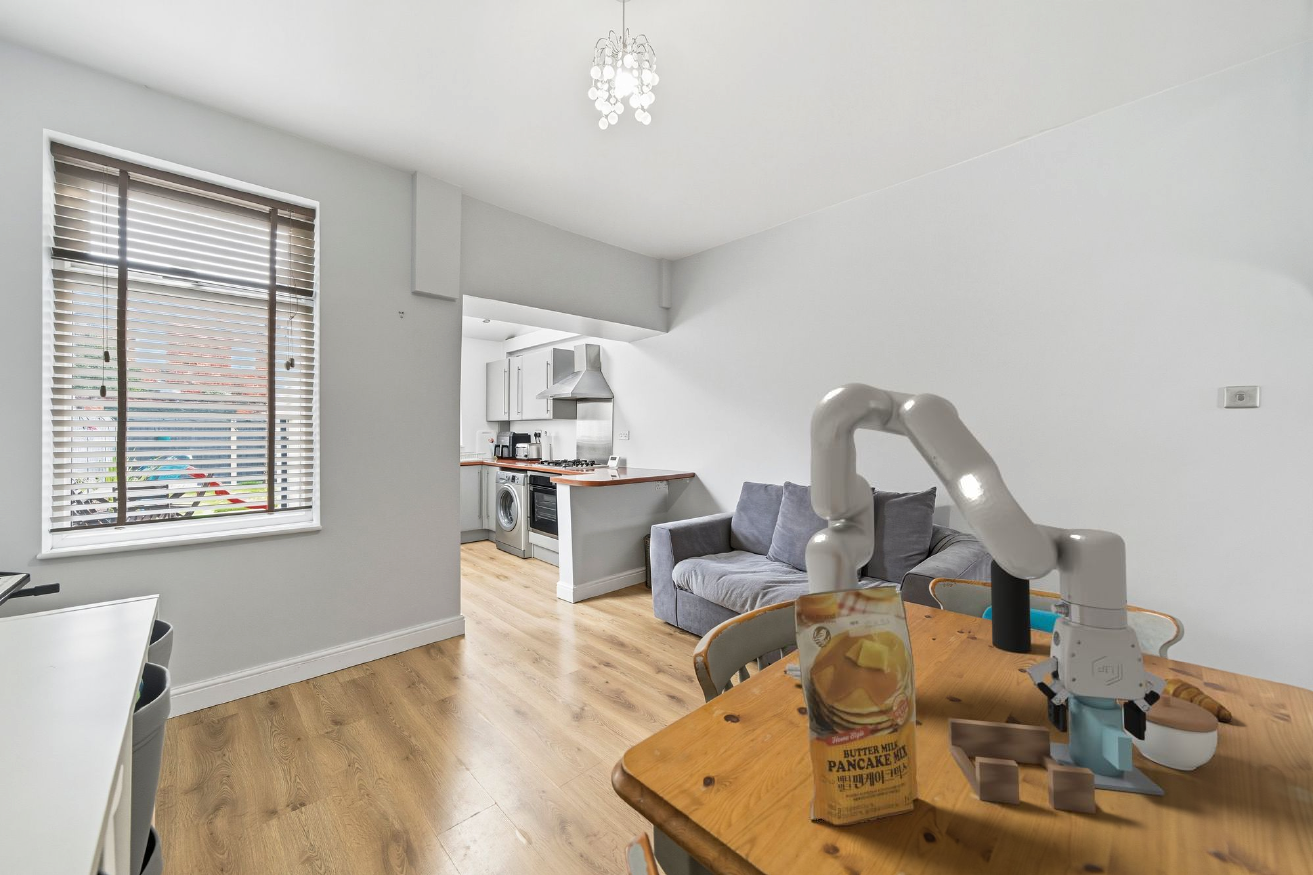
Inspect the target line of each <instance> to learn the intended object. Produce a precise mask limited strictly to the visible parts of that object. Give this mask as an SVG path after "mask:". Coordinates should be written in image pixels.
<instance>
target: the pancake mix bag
mask: <svg viewBox="0 0 1313 875" xmlns="http://www.w3.org/2000/svg"><path fill="white" fill-rule="evenodd" d="M896 589H897V586H896V585H881V586H871V587H866V588H865V587H864V588H859V589H842V590H834V591H827V592H818V593H812V594H808V593H806V594H801V595H800V596H799V597H797V598H796V599H795V600H794V601H793V603H792V604H793V607H792V610H793V626H794V627H793V628H794V634H795V635H794V637H795V638H794V639H795V642H796V646H797V651H798V660H799V661H798V662H799V665H800V673H801V679H800V680H801V681H800V682H801V689H802V693H803V699H804V703H805V706H806V712H807V713H806V714H807V717H808V718H807V719H808V739H809V740H808V741H809V742H808V743H809V754H810V759H811V766H812V774H813V785H814V788H813V789H814V790H813V797H812V799H811V807H810V814H809V820H813V821H814V820H816V819H817V820H818V819H823V820H825V821H826V823H828V822H829V823H828V824H830V823H831V824H830V825H832V824H833V825H832V826H835V827H836V826H848V825H849V826H850V825H854V824H859V823H858V822H860V823H865V822H868V821H867V820H870V821H874V820H878V819H877V818H879V819H881V818H885V817H893V816H897V815H902V814H907V813H909V812H912V811H914V810H915V807H914V801H915V800H917V799H918V798H920V794H919V789H918V783H917V782H918V781H917V770H918V769H917V768H918V767H917V766H918V764H917V763H918V762H917V761H918V757H917V747H918V744H917V730H916V729H917V728H916V726H917V725H916V719H917V718H916V709H917V708H916V682H915V676H914V675H915V671H914V669H915V668H914V667H915V666H914V665H915V664H914V656H913V648H912V642H911V638H910V636H911V635H910V630H909V626H908V621H907V619H908V618H907V610H906V606H905V602H904V597H903V593H902V590H896ZM823 820H822V821H823ZM818 821H819V820H818ZM825 821H824V822H825ZM864 821H865V822H864Z"/></svg>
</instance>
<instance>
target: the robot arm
mask: <svg viewBox="0 0 1313 875" xmlns="http://www.w3.org/2000/svg"><path fill="white" fill-rule="evenodd" d="M959 416H960V415H959V413H958V410H957V408H956V406H955V405H954V404H953V403H952V402H951V401H950V400H949V399H947V398H945V397H941V396H939V395H937V394H934V393H919V394H914V393H913V394H912V393H907V392H900V391H893V390H886V389H881V388H878V387H875V386H871V385H869V384H867V383H866V384H865V383H861V382H851V383H845V384H842V385H839V386H838V387H835V388H834V389H832V390H830V391H829V392H827V393H826V394H825V395H824V396H823V397H822V398H821V399H820V400H819V401H818V403H817V404H816V406H815V407H814V410H813V412H812V415H811V420H810V430H809V431H810V432H809V433H810V502H811V503H810V504H811V507H812V509H813V512H814V513H815V514H816V516H818V517H819V518H821V519H823V520H824V521H827V527H826V528H823V529H821V530H819V531H817V532H816V533H814V534H813V535H812V536H811V538H810V539H809V540H808V542H807V544H806V548H805V554H804V560H805V567H806V573H807V580H808V591H809V594H812V593H818V592H827V591H834V590H842V589H860V584H859V579H858V570H859V569H861V568H862V567H865V565H866V564H868V562H869V561H870V560H871V558H872V556H873V554H874V549H875V508H874V506H875V500H874V495H873V494H874V493H873V490H872V488H871V487H872V486H871V485H870V484H869V482H868V481H867V479H866V478H865V477H863V476H862V475H861V474H858V473H857V450H856V444H855V438H854V436H855V432H856V430H857V429H862V430H869V431H877V432H882V433H887V434H891V435H897V436H901V437H906V438H907V439H908V440H909V441H910V442H911V444H912V445H913V447H914V448H915V449H916V450H917V452H918V453H919V455H920V456H921V457H922V458H923V459H924V461H925V462H926V464H927V465H928V466H929V467H930V469H931V470H932V472H933V473H934V474H935V476H937V478H938V479H939V481H940V482H941V483H942V485H943V486H944V488H945V490H946V492H947V493H948V495H949V497H950V498H951V500H952V501H953V503H954V504H955V506H956V508H957V509H958V511H960V513H961V515H962V517H963V518H964V520H965V522H966V523H967V525H968V526H969V528H970V529H971V530H972V532H973V534H974V535H975V536H976V538H977V539H978V541H979V542H980V543H981V544H982V546H984V548H985V549H986V551H987V552H988V553H989V555H990V556H991V557H992V558H993V559H994V560H995V561H996V562H997V563H998V564H999V565H1000V566H1001V567H1002V568H1003V569H1004V570H1005V571H1006V572H1008V573H1009V574H1011V575H1013V576H1015V577H1018V578H1021V579H1027V580H1029V581H1030V580H1031V581H1032V580H1039V579H1042V578H1044V577H1047V575H1048V576H1049V574H1051V573H1052V571H1053V570H1056V571H1058V573H1059V596H1060V598H1058V603H1056V604H1051V605H1050V610H1051V613H1052V614H1057V615H1058V616H1059V617H1056V619H1055V622H1054V625H1053V629H1052V630H1053V631H1052V636H1051V643H1050V655H1049V657H1050V658H1048V659H1045V660H1043V661H1042V660H1041V661H1040V662H1039V663H1035V664H1031V665H1029V666H1028V667H1027V668H1026V672H1027V674H1028V676H1029V677H1030V680H1031V681H1032V682H1033V685H1034V686H1035V687H1036V688H1037V689H1038V690H1039V691H1040V692H1041V693H1042V694H1043V695H1044V696H1045V697H1046V698H1047V699H1046V702H1047V704H1046V705H1047V718H1048V720H1049V722H1050V724H1052V726H1054V727H1055V728H1056V729H1057V730H1058V731H1059V732H1060V733H1062V734H1066V733H1067V732H1068V714H1067V713H1068V712H1067V711H1068V710H1067V707H1066V705H1065V703H1064V702H1065V699H1066V698H1067V697H1068V696H1069V695H1070V694H1073V695H1076V696H1081V697H1090V698H1102V699H1114V700H1117V701H1118V700H1128V702H1124V704H1123V711H1124V728H1125V730H1127V731H1128V732H1129V733H1131V734H1132V735H1133V736H1134V737H1136V738H1137V739H1139V740H1145V731H1146V712H1150V710H1151V706H1152V705H1153V704H1154V703H1156V702H1157V701H1158V700H1159V699H1160V693H1162V692H1163V690H1164V688H1165V687H1166V685H1167V682H1166V681H1165V680H1164V679H1163V678H1162V677H1160V676H1158V675H1156V674H1154V673H1152V672H1150V671H1148V670H1146V669H1145V668H1144V661H1143V655H1142V651H1141V646H1140V643H1139V639H1138V636H1137V633H1136V632H1137V631H1136V630H1135V628H1133V627H1131V626H1129V625H1128V600H1127V599H1128V595H1127V594H1128V593H1127V561H1126V560H1127V558H1126V557H1127V556H1126V555H1127V554H1126V553H1127V552H1126V543H1125V541H1124V539H1123V537H1122V536H1121V535H1119V534H1117V533H1115V532H1112V531H1106V530H1100V529H1099V530H1098V529H1090V528H1071V529H1068V528H1061V527H1055V526H1051V525H1050V526H1049V525H1045V524H1039V523H1034V521H1032V519H1031V518H1030V517H1029V515H1028V514H1027V513H1026V512H1025V511H1024V509H1023V508H1022V507H1021V506H1020V504H1019V503H1018V502H1017V500H1016V499H1015V498H1014V496H1013V495H1012V493H1011V492H1010V490H1009V489H1008V487H1007V485H1006V483H1005V482H1004V479H1003V477H1002V475H1001V472H1000V470H999V466H998V465H997V463H996V461H995V460H994V458H993V457H992V455H990V453H989V452H988V451H987V450H986V449H985V447H984V446H983V445H982V444H981V442H979V441H978V439H977V438H976V436H974V434H973V433H972V432H971V431H970V430H969V429H968V427H967V426H966V425H965V423H964V422H963V421H962V419H961V418H960V417H959ZM1048 674H1050V678H1051V679H1052V680H1051V682H1049V683H1048V684H1046V682H1045V679H1044V676H1045V675H1048ZM786 675H791V676H792V675H793V679H794V680H801V673H800V664H799V665H798V664H797V665H796V664H794V663H786ZM1145 680H1147V685H1146V684H1145ZM1146 686H1147V687H1146ZM1124 728H1123V729H1124Z"/></svg>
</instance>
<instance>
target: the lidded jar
mask: <svg viewBox="0 0 1313 875" xmlns="http://www.w3.org/2000/svg"><path fill="white" fill-rule="evenodd" d="M1124 702H1128V700H1117V703H1118V704H1119V705H1120V706H1121V707H1122V714H1123V732H1124V733H1125V734H1127V735H1128V736H1129V737H1131V738H1132V745H1134V746H1135V748H1137V749H1138V750H1139V752H1140V753H1141V755H1142V756H1144V757H1145V758H1147V759H1148V760H1150V761H1151V762H1153V763H1156V764H1158V765H1161V766H1164V767H1166V768H1170V769H1173V770H1174V769H1175V770H1179V771H1187V772H1188V771H1195V770H1196V769H1197V768H1196V767H1200V766H1202V765H1204V764H1207V763H1208V762H1209V761H1211V759H1212V757H1213V756H1214V754H1215V752H1216V749H1217V744H1218V728H1219V720H1218V719H1217V718H1216V717H1215V716H1214V715H1213V714H1212V713H1211V712H1209V711H1208V710H1206V709H1204V708H1202V707H1200V706H1198V705H1195V704H1193V703H1191V702H1188V701H1185V700H1182V699H1179V698H1176V697H1172V696H1168V695H1165V694H1160V699H1159V700H1158V701H1157V702H1156V703H1154V704H1153V705H1152V706H1151V710H1150V712H1146V731H1145V740H1139V739H1137V738H1136V737H1134V736H1133V735H1132V734H1131V733H1129V732H1128V731H1127V730H1125V728H1124V711H1123V704H1124ZM1194 769H1195V770H1194Z"/></svg>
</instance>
